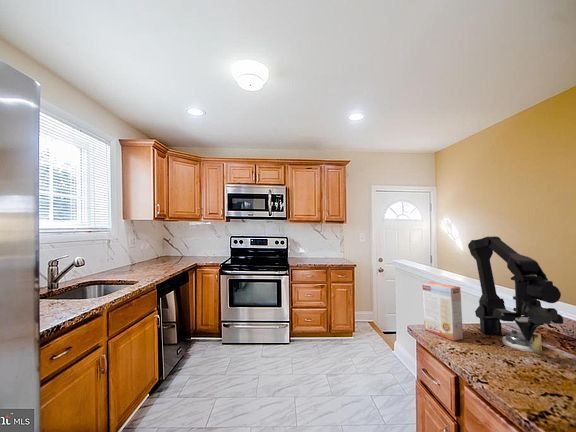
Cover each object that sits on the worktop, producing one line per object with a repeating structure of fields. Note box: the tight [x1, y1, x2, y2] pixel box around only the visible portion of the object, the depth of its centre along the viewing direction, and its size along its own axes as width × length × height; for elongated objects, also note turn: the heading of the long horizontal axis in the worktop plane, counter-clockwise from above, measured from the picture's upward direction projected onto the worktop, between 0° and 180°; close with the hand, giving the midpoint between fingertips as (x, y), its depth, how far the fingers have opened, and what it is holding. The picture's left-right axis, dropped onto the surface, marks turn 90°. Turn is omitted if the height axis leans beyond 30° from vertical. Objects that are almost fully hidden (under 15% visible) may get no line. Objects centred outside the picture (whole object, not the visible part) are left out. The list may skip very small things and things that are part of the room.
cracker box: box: [422, 281, 464, 342], centre depth 115 cm, size 14×6×21 cm, turn 22°
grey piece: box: [505, 329, 543, 354], centre depth 99 cm, size 15×9×6 cm, turn 167°
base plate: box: [501, 335, 534, 353], centre depth 102 cm, size 11×11×2 cm
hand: (527, 341), depth 94 cm, fingers closed
